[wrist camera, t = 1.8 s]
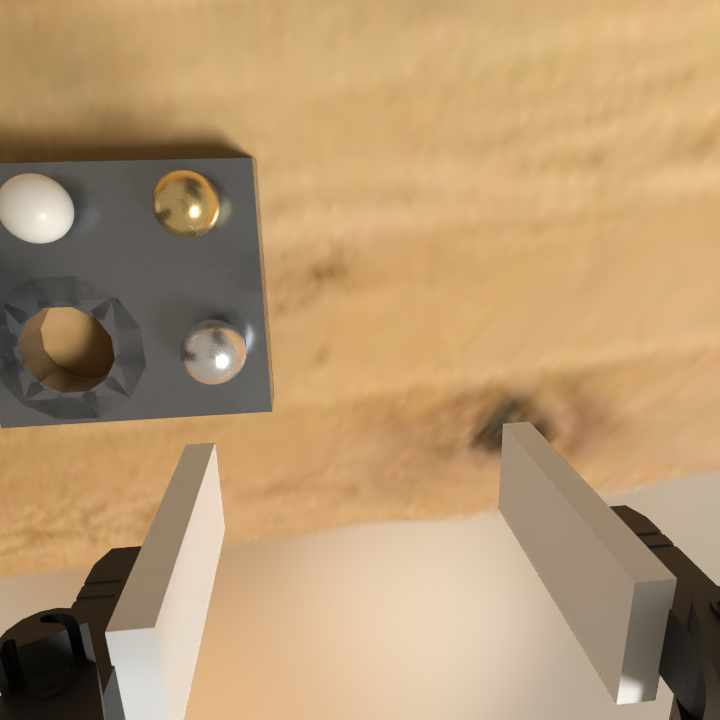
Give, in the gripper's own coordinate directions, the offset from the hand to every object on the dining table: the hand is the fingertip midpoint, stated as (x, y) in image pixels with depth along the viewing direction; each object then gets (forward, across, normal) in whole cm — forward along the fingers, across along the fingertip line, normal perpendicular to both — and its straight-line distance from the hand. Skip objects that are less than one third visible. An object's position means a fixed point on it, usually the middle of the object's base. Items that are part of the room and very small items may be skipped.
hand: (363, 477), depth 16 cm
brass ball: (+13, -6, +7) cm, 16 cm away
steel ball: (+13, -6, 0) cm, 14 cm away
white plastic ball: (+13, -13, +7) cm, 20 cm away
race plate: (+17, -10, +2) cm, 20 cm away
